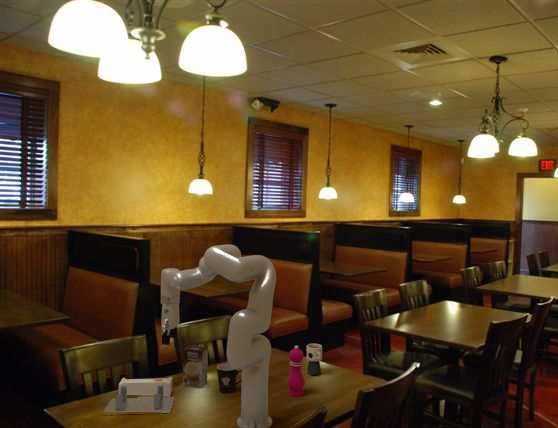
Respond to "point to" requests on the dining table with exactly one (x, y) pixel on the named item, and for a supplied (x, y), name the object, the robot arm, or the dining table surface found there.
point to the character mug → (314, 358)
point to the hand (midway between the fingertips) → (169, 340)
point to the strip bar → (146, 386)
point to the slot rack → (140, 403)
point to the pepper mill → (296, 373)
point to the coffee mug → (227, 378)
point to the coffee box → (195, 366)
